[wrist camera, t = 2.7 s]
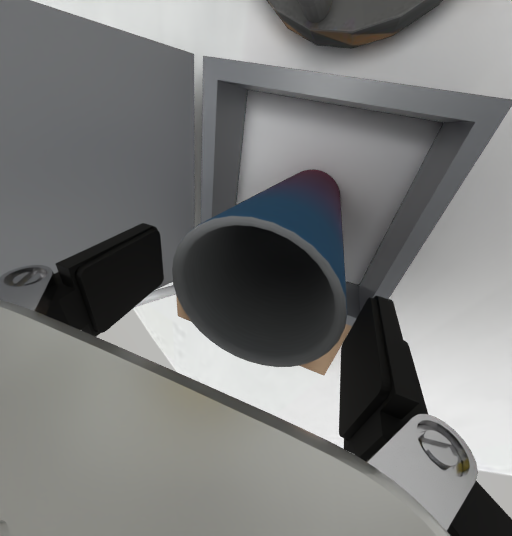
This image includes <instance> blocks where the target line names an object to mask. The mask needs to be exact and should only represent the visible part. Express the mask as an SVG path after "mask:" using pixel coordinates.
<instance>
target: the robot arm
mask: <svg viewBox="0 0 512 536" xmlns="http://www.w3.org/2000/svg"><path fill="white" fill-rule="evenodd" d="M56 267H57V269H58V272H57V273H55V274H54V273H53V271H52V269H51V268H50V267H48V266H43V265H29V266H23V267H19V268H16V269H13V270H11V271H8V272H7V273H5V274H3V275H2V276H1V277H0V536H512V519H511V518H510V517H509V516H508V515H507V514H506V513H505V512H504V510H503V509H502V508H501V507H500V506H499V505H498V504H497V503H496V502H495V501H494V500H493V499H492V498H491V496H490V495H489V494H488V493H487V492H486V491H485V490H484V489H483V488H482V487H481V485H479V483H478V482H477V481H476V478H477V474H478V470H477V465H476V461H475V459H474V456H473V454H472V452H471V450H470V449H469V447H468V446H467V444H466V443H465V441H464V440H463V439H462V438H461V437H460V436H459V435H458V433H457V432H456V431H455V430H454V429H452V428H451V427H450V426H449V425H447V424H446V423H445V422H443V421H442V420H440V419H438V418H436V417H434V416H431V415H428V412H427V408H426V405H425V401H424V398H423V394H422V391H421V387H420V384H419V380H418V377H417V373H416V370H415V366H414V362H413V359H412V355H411V352H410V348H409V346H408V343H407V342H406V341H404V340H403V337H402V334H401V330H400V326H399V322H398V318H397V315H396V311H395V307H394V303H393V301H392V300H389V299H386V298H383V297H380V296H375V297H374V298H370V297H369V298H368V299H367V301H366V303H365V304H364V306H363V308H362V310H361V311H360V313H359V315H358V317H357V319H356V320H355V322H354V324H353V326H352V328H351V329H350V331H349V333H348V335H347V336H346V338H345V340H344V342H343V344H342V348H341V377H340V415H339V434H340V436H341V437H343V438H344V449H343V448H341V447H339V446H337V445H335V444H333V443H331V442H329V441H327V440H325V439H323V438H321V437H319V436H317V435H315V434H312V433H310V432H308V431H306V430H304V429H302V428H300V427H297V426H295V425H293V424H291V423H289V422H287V421H285V420H282V419H280V418H278V417H276V416H274V415H272V414H269V413H267V412H265V411H263V410H260V409H258V408H256V407H254V406H251V405H249V404H247V403H245V402H242V401H240V400H238V399H236V398H233V397H231V396H229V395H227V394H225V393H222V392H220V391H218V390H216V389H213V388H211V387H209V386H207V385H204V384H202V383H200V382H198V381H195V380H193V379H191V378H188V377H186V376H184V375H182V374H179V373H177V372H175V371H173V370H170V369H168V368H166V367H163V366H161V365H159V364H157V363H154V362H152V361H149V360H148V359H145V358H143V357H141V356H138V355H136V354H134V353H132V352H129V351H127V350H125V349H122V348H120V347H118V346H116V345H113V344H111V343H108V342H106V341H104V340H102V339H99V338H97V337H96V336H97V335H98V334H100V333H102V332H105V331H106V330H108V329H109V328H110V327H111V326H112V325H114V324H115V323H116V322H117V321H118V320H120V319H121V318H122V317H123V316H124V315H125V314H127V313H128V312H129V311H130V310H131V309H133V308H134V307H135V306H136V305H137V304H139V303H140V302H141V301H142V300H143V299H144V298H146V297H147V296H148V295H149V294H150V293H152V292H153V291H154V290H155V289H156V288H158V287H159V286H160V285H161V284H162V282H163V280H164V273H163V261H162V249H161V237H160V232H159V231H158V229H157V228H156V227H155V226H152V225H149V224H146V223H142V224H139V225H137V226H135V227H133V228H131V229H129V230H126V231H124V232H122V233H120V234H118V235H116V236H114V237H111V238H109V239H107V240H105V241H103V242H101V243H99V244H96V245H94V246H92V247H90V248H88V249H86V250H84V251H81V252H79V253H77V254H75V255H73V256H71V257H68V258H66V259H64V260H62V261H60V262H58V263H56ZM81 330H82V331H81ZM346 450H347V451H346ZM348 451H349V452H348ZM350 452H351V453H350ZM352 453H353V454H352ZM354 454H355V455H354Z"/></svg>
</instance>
